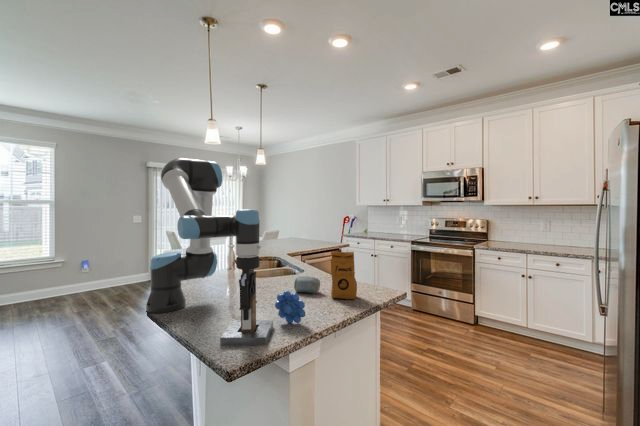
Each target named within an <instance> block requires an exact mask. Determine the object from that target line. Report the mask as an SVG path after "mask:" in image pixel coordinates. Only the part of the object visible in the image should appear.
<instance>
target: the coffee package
mask: <svg viewBox="0 0 640 426" xmlns="http://www.w3.org/2000/svg"><path fill="white" fill-rule="evenodd" d="M354 255H355V253H354V251H331V280H332V281H331V291H330V292H331V294H330V296H331V298H332V299H333V298H334V299H339V300H340V299H343V300H356V298H357V294H358V293H357V292H358V283H357V280H356V276H355V274H356V272H355V256H354Z"/></svg>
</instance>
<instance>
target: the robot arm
mask: <svg viewBox="0 0 640 426" xmlns="http://www.w3.org/2000/svg"><path fill="white" fill-rule="evenodd" d="M160 179H161V183H162V184H163V186H164V188H165V189H167V190H168V191H169V193H170V196H171V199H172V201H173V203H174V205H175V207H176V210H177V212H178V214H179V216H180V217H179V218H178V219H177V233H178V236H179V238H180V239H182V240H189V246H188V247H186V249H185V253H184V254H183V253H182V252H181V251H179V250H178V251H170V252H169V251H168V252H163V253H159V254H157V255H154V256H153V257H151V259H150V265H149V266H150V267H149V270H150V293H149V296H148V299H147V301H146V304H145V309H146V312H147V313H151V314H152V313H153V314H161V313H168V312H174V311H177V310H181V309H182V308H185V306H186V305H187V303H186V297H185V294H184V292H183V289H182V281H189V280H196V279H204V278H207V277H211V276H213V275H214V274H215V272H216V270H217V267H218V256H217V253H216V252H215V251H214V249H213V247H212V246H211V239H213V238H227V237H228V238H229V237H235V240H236V241H235V255H236V257H235V258H236V259H235V260H236V262H235V263H236V266H235V267H236V268H237V269H238V270H242V271H241V274H240V279H239V280H238V284H239V311H241V310H242V329H251V309H250V295H251V292H257V287H256V286H257V278H256V277H257V271H256V270H255V269H258V268H259V267H260V264H261V263H260V262H261V261H260V256H259V255H260V249H262V246H261V245H260V221H261V220H260V212H259V211H258V209H238V210H236V212H235V214H228V215H227V214H225V215H221V214H220V215H212V214H213V213H212V212H213V199H214V195H215V194H216V193H217V189H219V188H220V187H221V186H222V184H223V173H222V169H221V167H220V165H219V164H218V162H216V161H211V160H208V159H206V160H204V159H194V158H184V157H179V158H174V159H172V160H170V161H168V162H167V163H166V164H165V165H164V167H163V168H162V170H161V173H160ZM257 302H258V301H257V300H256V304H258V303H257Z"/></svg>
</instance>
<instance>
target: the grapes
mask: <svg viewBox="0 0 640 426" xmlns="http://www.w3.org/2000/svg"><path fill="white" fill-rule="evenodd" d="M274 307H275V309H277V310H278V311H277V312H278V316H279V317H280V318H281V319H285V322H286V323H288V324H293V323H296V324H300V323H301V321H302V318H305V317H306V311H305V310H304V308H305V307H306V305H305V302H304V301H303V300H301V299H300V296H299V294H298V293H295V292H293V293H291V292H290V291H289V290H285V291H284V292H283V293H279V294H277V295H276V301H275V302H274Z"/></svg>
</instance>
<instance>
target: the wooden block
mask: <svg viewBox="0 0 640 426" xmlns="http://www.w3.org/2000/svg"><path fill="white" fill-rule="evenodd" d="M256 292H257V291H256ZM256 292H251V295H250V309H251V329H242V310H240V320H241V332H254V330H255V328H256V320H257V303H256V301H257V293H256Z"/></svg>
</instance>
